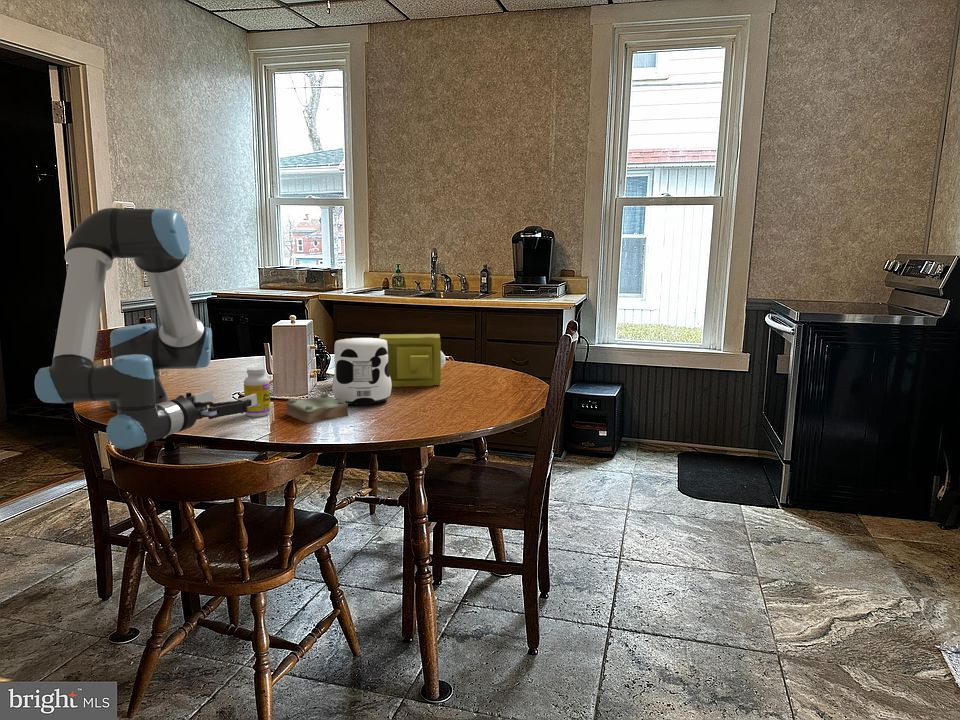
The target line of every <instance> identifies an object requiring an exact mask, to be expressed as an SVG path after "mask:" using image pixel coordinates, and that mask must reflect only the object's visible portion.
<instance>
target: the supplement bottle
mask: <svg viewBox="0 0 960 720" xmlns="http://www.w3.org/2000/svg"><path fill="white" fill-rule="evenodd" d="M265 373H266V368H265V367H264V366H263V367H262V366H253V367H247V368H246V374H247V377H245V378H244V380H243V395H244V397H246V396H249V395H252V394H257V405H254V406H251V407H248V408H247V409H248V412H244V414H245V416H247V417H251V418H259V417H261V418H262V417H265V416H266V417H267V416H268V415H270V414H271V409H272V407H271V389H270V379H269V378H268V377H267V376H266V375H265Z"/></svg>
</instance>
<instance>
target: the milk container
mask: <svg viewBox="0 0 960 720" xmlns="http://www.w3.org/2000/svg"><path fill="white" fill-rule="evenodd" d="M333 350H334V352H333V353H334V374H333V377H332V378H333V379H332V383H331V384H332V385H331V389H332V394H333V398H334V399H337V400H345V402H346V403H348V405H371V404H377V403H380V402H384V401H386V400H387V399H388V398H390V395H391V393H392V383H391V378H390V375H389V371H388V346H387V340H384V339H379V337H378V338H377V337H375V338H374V337H352V338H344V339H342V338H341V339H338V340H336V341H335V342H334V349H333Z"/></svg>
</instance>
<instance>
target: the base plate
mask: <svg viewBox="0 0 960 720" xmlns="http://www.w3.org/2000/svg"><path fill="white" fill-rule="evenodd" d="M348 406H349V404H348V403H346V402H345V400H337V399H335V397H331V396H328V393H322V394H320V396H316V397H309V398H308V397H307V398H304V399H303V398H302V399H295V398H290V399H288V401H286V415H288V416H290V417H292V418H295V419H296V420H299V421H301V422H304V423H306V424H312V423H315V422H316V423H317V422H323V421H327V420H332V419H337V418H343V417H348V416H349V407H348Z"/></svg>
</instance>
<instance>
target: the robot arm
mask: <svg viewBox="0 0 960 720" xmlns="http://www.w3.org/2000/svg"><path fill="white" fill-rule="evenodd" d="M190 241H191V240H190V237H189V230H188V226H187V224H186V221H185V219H184V217H183V216H182V214H181V213H180V212H179V211H177V210H174V209H169V208H161V207H157V208H156V207H155V208H132V207H131V208H126V207H123V208H120V207H119V208H118V207H108V208H102V209H99V210H96V211H95V212H92V213H91V214H90V215H88V216H86V217H85V218H84V219H83V220H82V221H81V222H80V223H79V224H78V225H77V226H76V227H75V229H73V232H72V234H70V237H69V239H68V241H67V243H66V248H65V253H64V260H65V262H66V263H67V264H68V265H67V271H66V272H67V273H66V278H65V285H64V290H63V291H64V292H63V297H62V302H61V308H60V314H59V319H58V326H57V333H56V337H55V338H56V339H55V344H54V350H53V357H52V364H51V366H47V367H41V368H39V369H38V371H37V373H36V374H35V376H34V377H35V378H34V390H35V394H36V396H37V398H38V399H39V400H40V401H42V403H47V404H67V403H82V402H84V403H85V402H108V409H109V410H110V411H112V412H117V414H116V415H115V416H113V417H111V418H110V419H109V420H108V422H107V426H106V428H105V429H106V436H107V438H108V441H109V442H110V443H111V444H112V445H113V446H114V447H116V448H117V449H120V450H129V449H133V448H137V447H142V446H144V445H146V444H148V443H151V442H153V441H156V440H159V439H166V438H167V437H168V436H170V435H174V434H177V433H179V432H182V431H185V430H187V429H191V428H192V427H193V426H194V425H195V423H196V422H197V420H201V419H204V418H208V419H209V420H213V419H216V418H217V419H218V418H221V417H227V416H231V415H237V414H242V415H243V414H245V412H248V409H247V408H248V407H251V406H254V405H257V394H252V395H249V396H246V397H241V398H237V400H231V401H222V402H215V403H214V402H213V401H214V390H213V389H209V390H205V391H203V392H202V391H201V392H198V393H195V394H192V392H186V393H185V395H186V397H185V396H184V395H181V394H180V395H179V396H177V397H176V398H174V399H170V400H168V395H167V392H166V390H165V388H164V386H163V383H162V380H161V378H160V373H159V371H160V370H186V369H188V370H191V369H194V370H195V369H202V368H206V367H208V366H209V365H210V363H211V357H212V345H213V343H212V342H213V331H212V328H211V327H207V326H204V325H203V322H202V321H201V320H200V319H199V318H197V317H196V316H195V311H194V309H193V305H192V302H191V298H190V294H189V290H188V286H187V282H186V277H185V273H184V271H183V267H182V265H183V264H184V262H185V260H186V258H187V257H188V256H189V254H190V249H191V243H190ZM114 259H133V261H134V263H135V265H136V267H137V268H138V269H140V270H141V271H143V272H144V273H145V276H146V280H147V282H148V285H149V288H150V293H151V295H152V298H153V300H154V305H155V307H156V310H157V313H158V316H159V320H160V323H161V325H160V327H159V328H157V325H156V324H155V323H153V322H151V323H147V322H146V323H139V324H135V325H134V324H133V325H128V326H127V325H126V326H122V327H119V328H115V329H113V330H112V331H111V332H110V336H109V338H110V340H109V341H110V342H109V343H110V345H109V348H110V355H111V364H109V365H94V359H95V353H96V346H97V345H96V344H97V340H98V339H97V338H98V334H99V333H98V332H99V324H100V318H101V312H102V305H103V297H104V289H105V283H106V275H107V271H109V270H110V269H112V266H113V264H114V263H113V261H114ZM208 406H209V408H208Z"/></svg>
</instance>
